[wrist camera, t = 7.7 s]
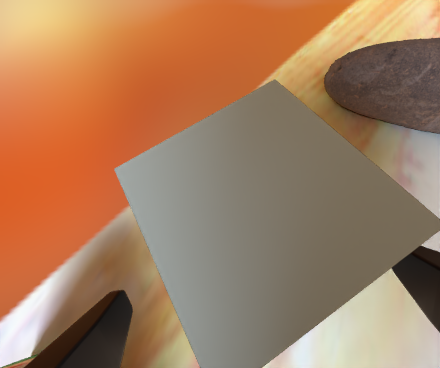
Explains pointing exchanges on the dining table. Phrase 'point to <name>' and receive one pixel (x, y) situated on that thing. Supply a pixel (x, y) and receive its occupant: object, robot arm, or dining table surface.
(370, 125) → the dining table surface
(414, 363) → the dining table surface
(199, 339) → the column
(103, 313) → the robot arm
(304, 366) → the dining table surface
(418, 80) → the perforated stone tool
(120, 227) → the dining table surface
